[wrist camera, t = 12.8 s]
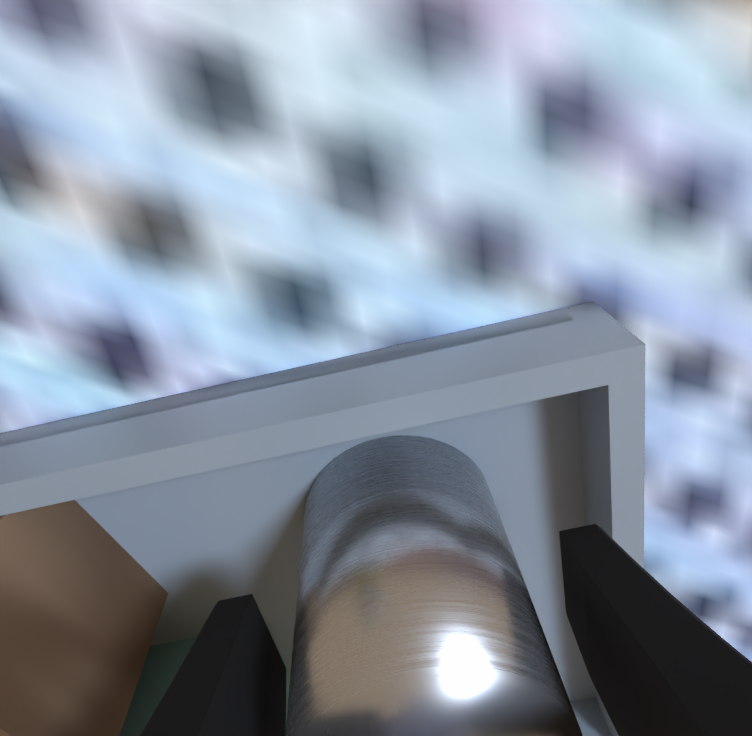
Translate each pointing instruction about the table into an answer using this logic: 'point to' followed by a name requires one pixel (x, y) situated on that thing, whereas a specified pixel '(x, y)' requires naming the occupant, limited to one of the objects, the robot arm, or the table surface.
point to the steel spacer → (415, 605)
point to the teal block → (163, 682)
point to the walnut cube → (70, 624)
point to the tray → (344, 430)
